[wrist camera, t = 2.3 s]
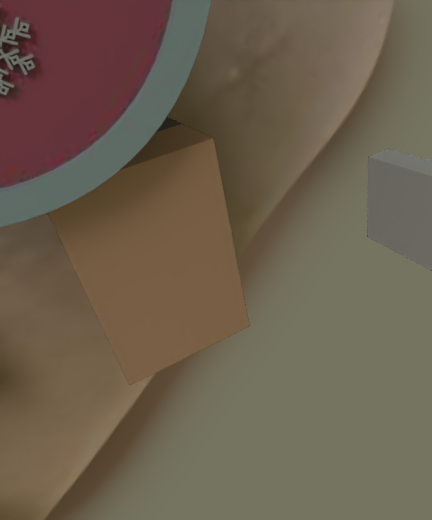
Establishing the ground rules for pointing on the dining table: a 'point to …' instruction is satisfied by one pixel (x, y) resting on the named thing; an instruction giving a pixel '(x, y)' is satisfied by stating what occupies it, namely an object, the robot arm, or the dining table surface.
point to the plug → (158, 253)
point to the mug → (85, 91)
